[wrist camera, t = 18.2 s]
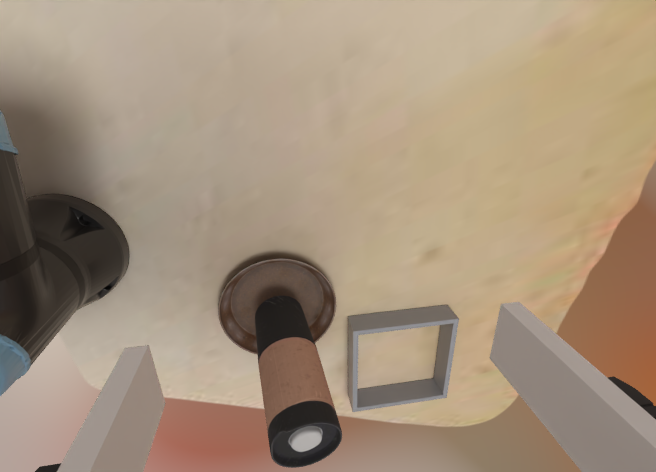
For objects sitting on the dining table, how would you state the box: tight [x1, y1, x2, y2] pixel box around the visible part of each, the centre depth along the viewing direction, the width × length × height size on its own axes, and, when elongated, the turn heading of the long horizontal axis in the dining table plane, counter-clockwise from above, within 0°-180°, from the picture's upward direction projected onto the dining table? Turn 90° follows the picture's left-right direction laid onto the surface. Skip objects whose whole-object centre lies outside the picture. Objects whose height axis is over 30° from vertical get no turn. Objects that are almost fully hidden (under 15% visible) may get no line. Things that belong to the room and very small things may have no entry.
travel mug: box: [255, 296, 342, 468], centre depth 44 cm, size 8×8×20 cm
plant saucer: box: [218, 259, 336, 354], centre depth 54 cm, size 18×18×3 cm
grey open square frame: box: [348, 305, 459, 412], centre depth 61 cm, size 18×18×4 cm
